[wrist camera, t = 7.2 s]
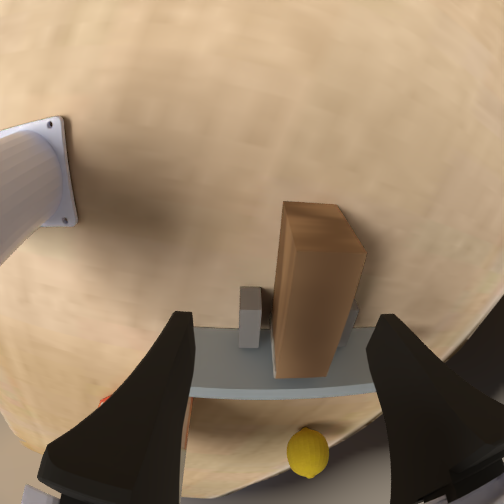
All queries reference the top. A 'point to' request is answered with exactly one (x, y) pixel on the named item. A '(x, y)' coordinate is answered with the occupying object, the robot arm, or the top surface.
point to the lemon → (307, 452)
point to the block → (312, 288)
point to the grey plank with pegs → (261, 365)
